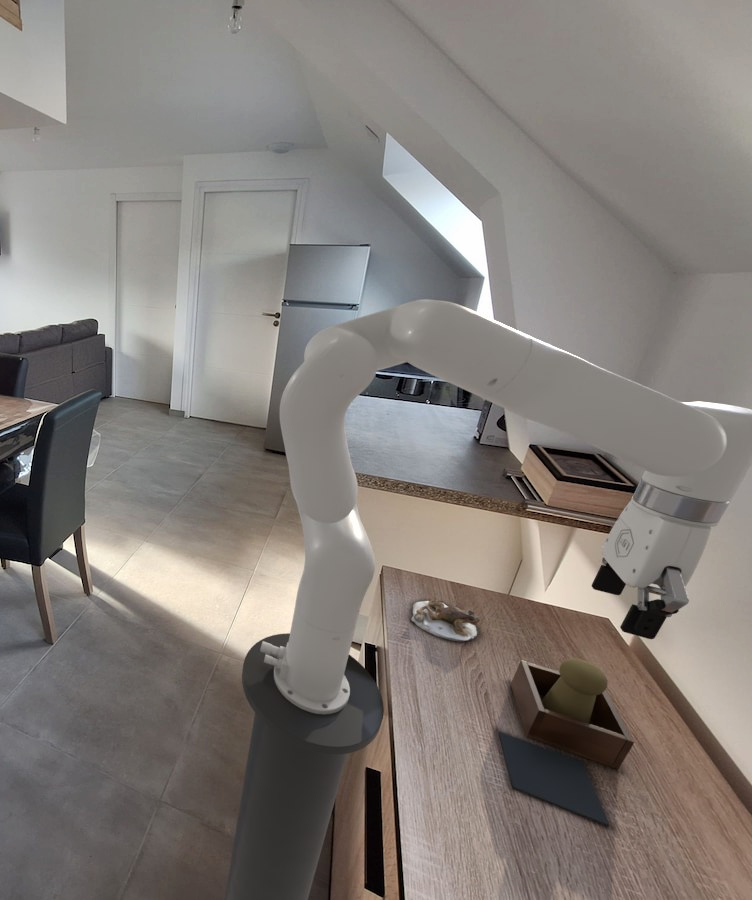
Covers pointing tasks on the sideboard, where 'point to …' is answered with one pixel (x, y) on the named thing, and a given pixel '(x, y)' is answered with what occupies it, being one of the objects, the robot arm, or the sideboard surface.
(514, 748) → the mat
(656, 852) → the sideboard surface
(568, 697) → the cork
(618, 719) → the open wooden box
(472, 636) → the frog figurine
